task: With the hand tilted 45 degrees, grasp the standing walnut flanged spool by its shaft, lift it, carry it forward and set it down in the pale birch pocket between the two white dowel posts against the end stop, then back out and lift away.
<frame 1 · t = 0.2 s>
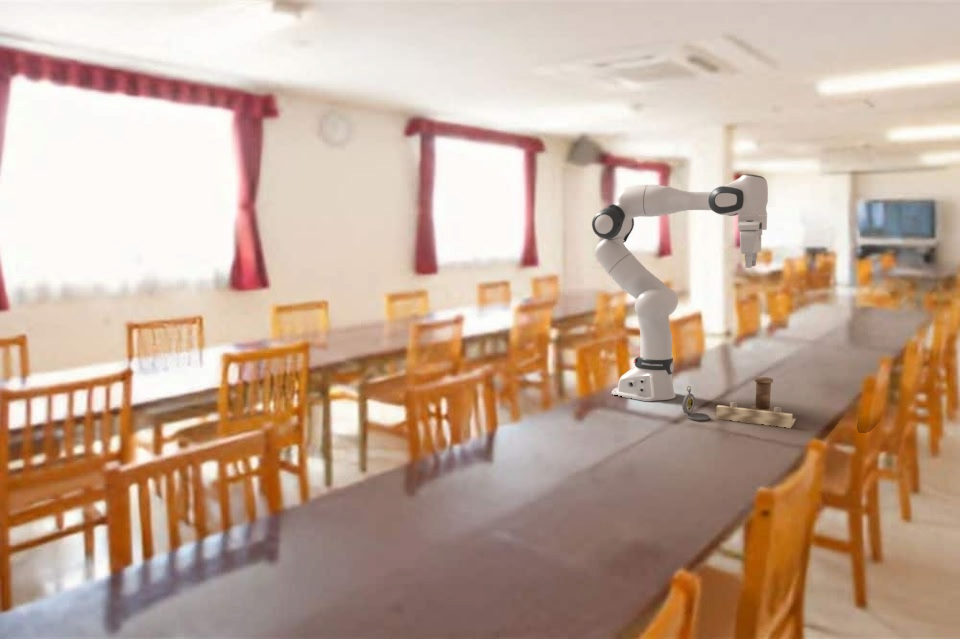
hand: (750, 266, 232), 47 cm above the table, tool pointing down, fingers open, 8 cm apart
flanged spool: (762, 410, 233), on the table
pocket watch: (695, 418, 226), on the table
dowel stop: (754, 421, 221), on the table
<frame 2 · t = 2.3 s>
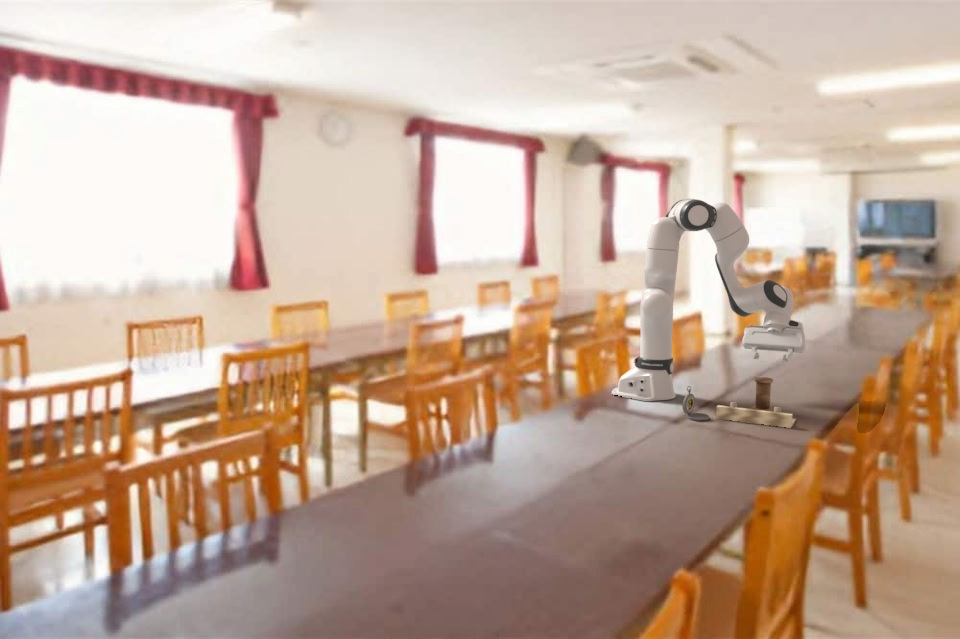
hand: (770, 359, 241), 15 cm above the table, tool tilted 45°, fingers open, 8 cm apart
nothing on the table moved.
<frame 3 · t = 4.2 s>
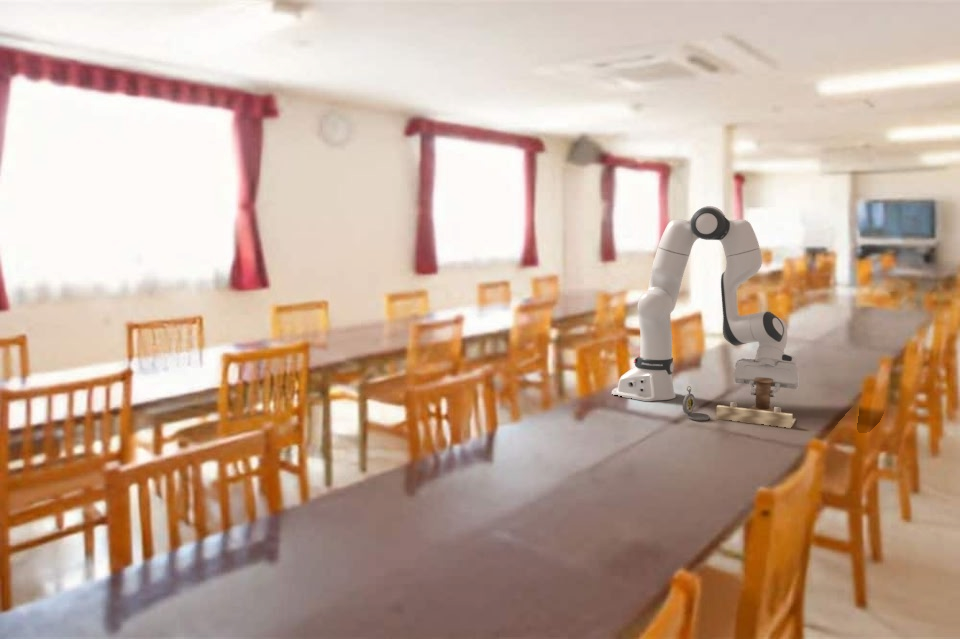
hand: (762, 395, 232), 5 cm above the table, tool tilted 45°, fingers closed on flanged spool, 4 cm apart
flanged spool: (762, 410, 233), on the table, touching gripper
everything else where it was.
when the fingers open (7 cm above the table, at t = 9.1 s): flanged spool stays where it is, resting on dowel stop.
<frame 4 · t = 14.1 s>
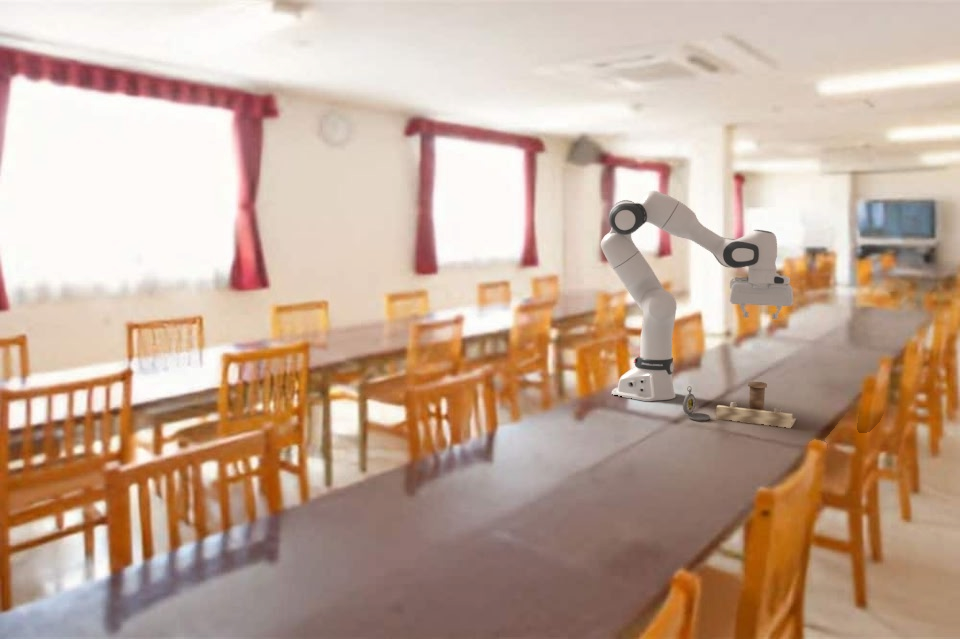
hand: (760, 318, 242), 29 cm above the table, tool pointing down, fingers open, 8 cm apart
flanged spool: (756, 416, 223), point 1 cm above the table, touching dowel stop
everything else where it was.
at the end: flanged spool inside the target area (0.5 cm from its centre), point 0.6 cm above the table; flanged spool tilted 0°; the gripper is holding nothing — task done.
